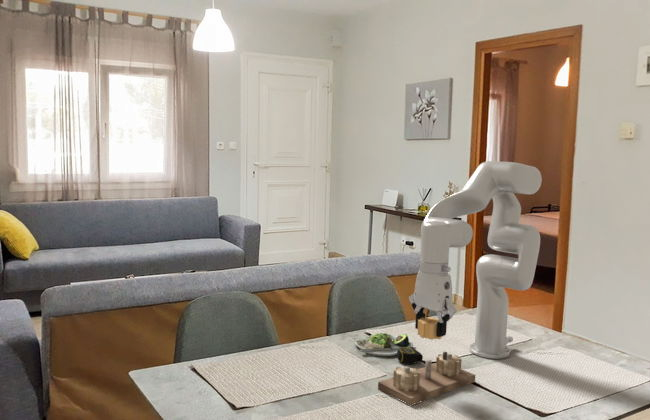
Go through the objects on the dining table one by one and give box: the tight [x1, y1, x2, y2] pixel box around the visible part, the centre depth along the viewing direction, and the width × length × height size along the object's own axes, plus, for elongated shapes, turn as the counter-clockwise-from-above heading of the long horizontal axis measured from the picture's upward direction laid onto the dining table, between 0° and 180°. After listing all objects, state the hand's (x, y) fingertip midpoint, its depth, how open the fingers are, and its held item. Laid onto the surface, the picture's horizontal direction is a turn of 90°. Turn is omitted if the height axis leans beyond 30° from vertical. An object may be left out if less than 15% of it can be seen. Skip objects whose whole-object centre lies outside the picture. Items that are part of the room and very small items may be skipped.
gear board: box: [377, 351, 476, 406], centre depth 159 cm, size 26×12×8 cm, turn 128°
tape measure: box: [396, 346, 424, 365], centre depth 177 cm, size 7×7×4 cm
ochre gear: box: [417, 316, 444, 341], centre depth 158 cm, size 7×7×4 cm
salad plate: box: [354, 332, 417, 357], centre depth 187 cm, size 19×18×5 cm
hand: (430, 331), depth 158 cm, fingers closed on ochre gear, 6 cm apart
